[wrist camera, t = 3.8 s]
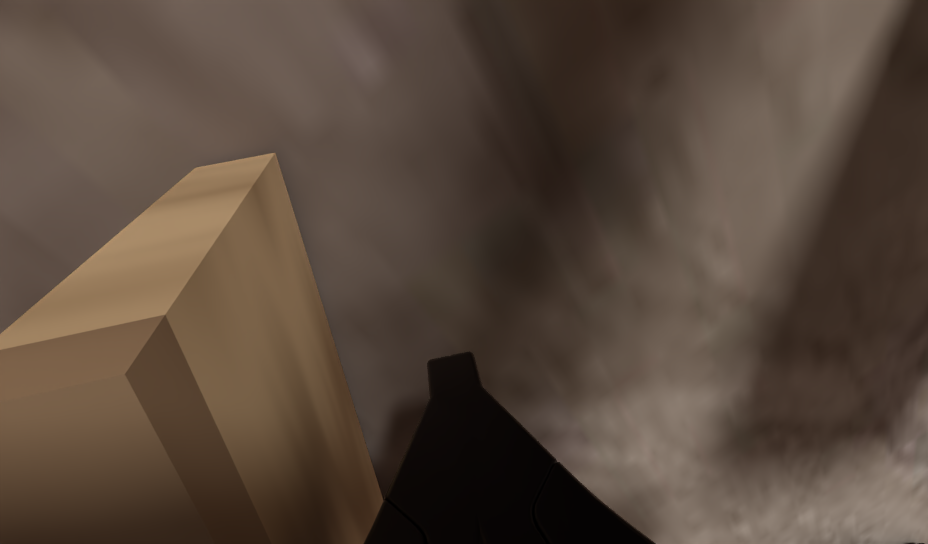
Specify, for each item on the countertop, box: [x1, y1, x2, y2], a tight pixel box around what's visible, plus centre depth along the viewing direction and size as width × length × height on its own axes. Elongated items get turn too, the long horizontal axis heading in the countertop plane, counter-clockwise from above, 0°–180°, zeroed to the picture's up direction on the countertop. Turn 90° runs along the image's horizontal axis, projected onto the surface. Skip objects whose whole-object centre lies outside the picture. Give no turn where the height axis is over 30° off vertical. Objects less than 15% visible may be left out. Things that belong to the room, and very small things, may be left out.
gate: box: [0, 153, 384, 544], centre depth 8 cm, size 9×1×7 cm, turn 9°
